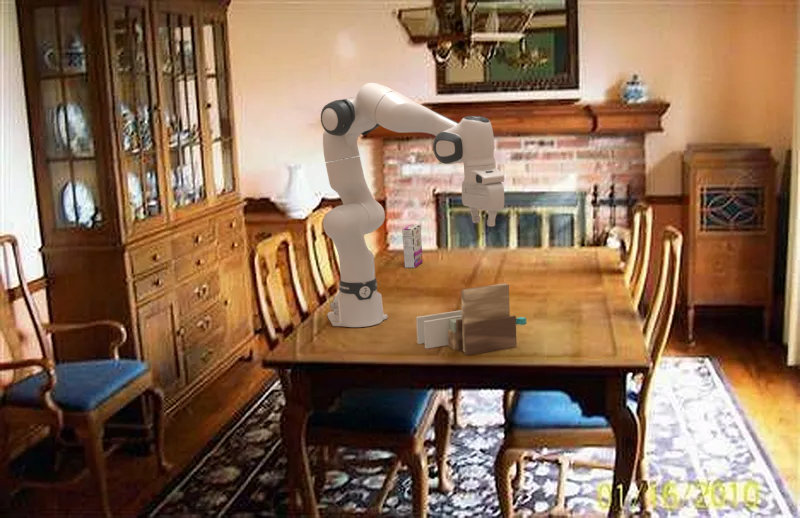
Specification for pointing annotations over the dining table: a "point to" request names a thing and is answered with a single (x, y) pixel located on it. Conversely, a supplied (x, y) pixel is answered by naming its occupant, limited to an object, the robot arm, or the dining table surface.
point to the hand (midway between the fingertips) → (483, 224)
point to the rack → (487, 335)
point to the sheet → (484, 304)
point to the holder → (435, 328)
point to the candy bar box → (412, 246)
